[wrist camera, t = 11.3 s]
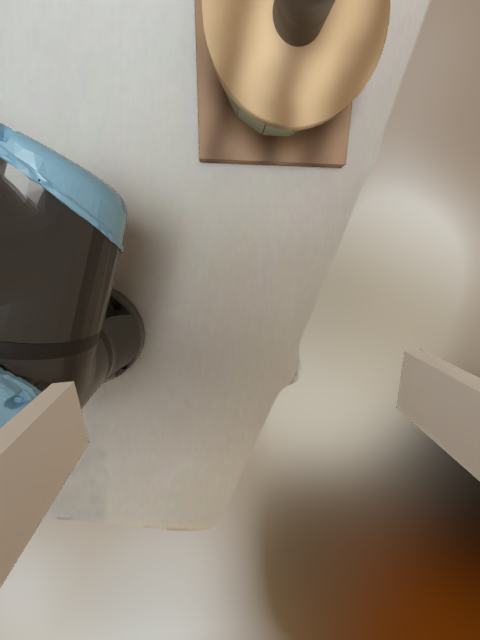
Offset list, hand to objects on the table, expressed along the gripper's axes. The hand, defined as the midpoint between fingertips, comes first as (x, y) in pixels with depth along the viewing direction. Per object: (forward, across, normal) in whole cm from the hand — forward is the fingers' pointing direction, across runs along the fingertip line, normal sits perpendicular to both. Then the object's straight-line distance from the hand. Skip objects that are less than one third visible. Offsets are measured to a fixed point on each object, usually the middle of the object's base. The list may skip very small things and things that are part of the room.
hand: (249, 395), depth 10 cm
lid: (+23, -9, -26) cm, 36 cm away
